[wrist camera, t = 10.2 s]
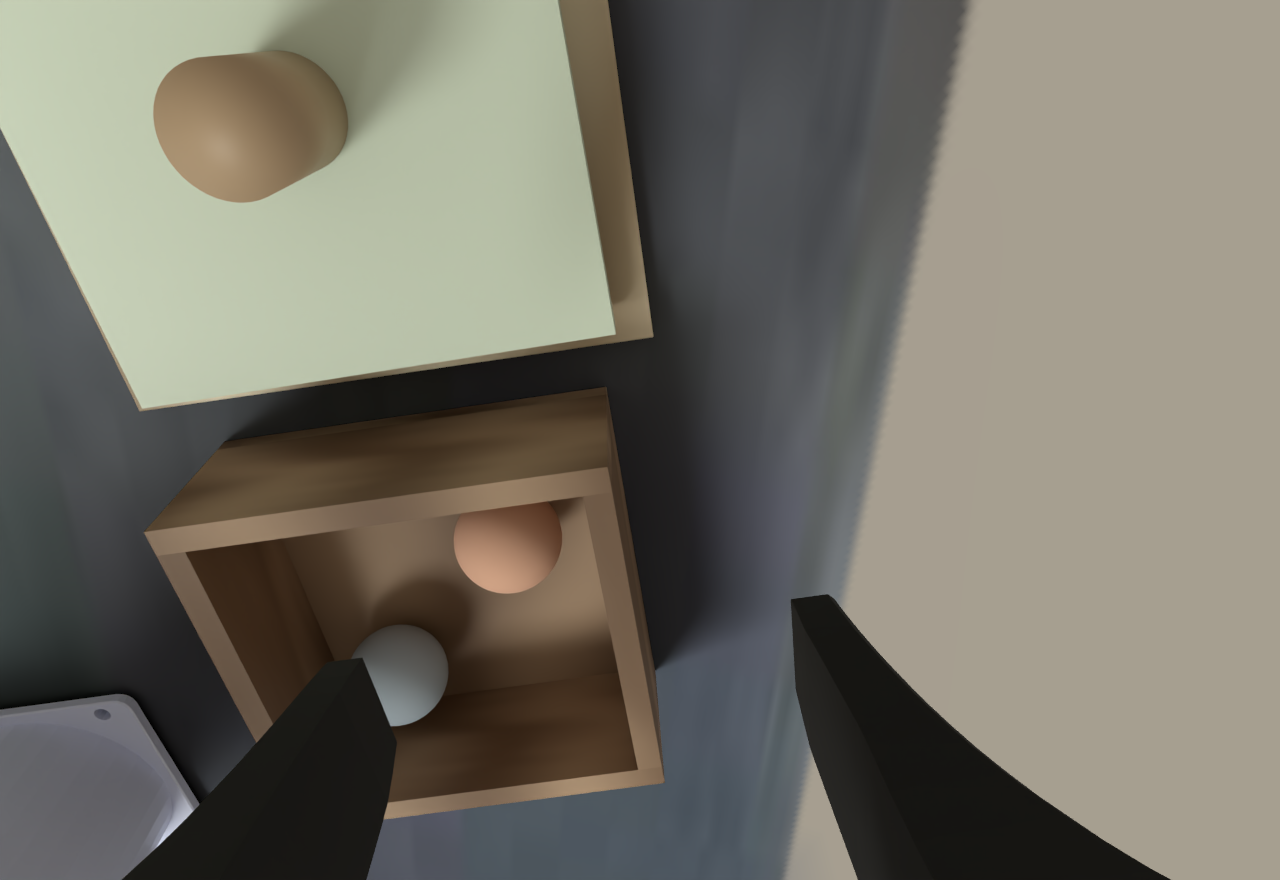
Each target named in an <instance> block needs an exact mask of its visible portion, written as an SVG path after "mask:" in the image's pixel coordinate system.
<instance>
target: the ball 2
mask: <svg viewBox="0 0 1280 880" xmlns="http://www.w3.org/2000/svg"><path fill="white" fill-rule="evenodd" d="M561 547H562V529H561V525H560V522H559V519H558V516H557V514H556V513H555V511H554V509H553V508H552V506H551V505H550V504H549V503H548V502H547V501H546V502H539V503H532V504H525V505H518V506H511V507H503V508H496V509H489V510H482V511H475V512H468V513H461V514H460V516H459V519H458V521H457V523H456V527H455V531H454V550H455V555H456V558H457V561H458V563H459V565H460V567H461V568H462V570H463V572H464V573H465V574H466V575H467V576H468V577H469V578H470V579H471V580H472V581H473V582H474V583H475V584H477V585H478V586H480V587H482V588H484V589H486V590H489V591H492V592H496V593H503V594H510V593H518V592H522V591H525V590H527V589H530V588H532V587H534V586H536V585H537V584H539V583H540V582H541V581H542V580H544V579H545V578H546V577H547V576H548V575H549V573H550V572H551V571H552V569H553V568H554V567H555V565H556V563H557V561H558V558H559V555H560V552H561Z"/></svg>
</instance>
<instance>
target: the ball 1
mask: <svg viewBox="0 0 1280 880" xmlns="http://www.w3.org/2000/svg"><path fill="white" fill-rule="evenodd" d="M355 658H363V660H364V662H365V665H366V667H367V670H368V672H369V675H370V677H371V680H372V682H373V684H374V687H375V689H376V692H377V694H378V697H379V699H380V702H381V704H382V706H383V709H384V711H385V714H386V716H387V719H388V721H389V723H390V726H402V725H406V724H410V723H412V722H415V721H417V720H419V719H421V718H422V717H424V716H425V715H427V714H428V713H429V712H430V711H431V710H432V709H433V708H434V707H435V706H436V705H437V703H438V702H439V700H440V699H441V697H442V695H443V693H444V691H445V688H446V685H447V681H448V673H449V672H448V661H447V657H446V654H445V652H444V650H443V648H442V646H441V644H440V643H439V642H438V641H437V639H436V638H435V637H434V636H433V635H431V634H430V633H429V632H427V631H425V630H423V629H421V628H419V627H416V626H412V625H392V626H388V627H384V628H382V629H379V630H377V631H376V632H374V633H372V634H371V635H369V636H368V637H367V638H366V639H365V640H364V641H363V642H362V643H361V644H360V645H359V646H358V647H357V649H356V650H355V652H354V654H353V656H352V658H351V659H355Z"/></svg>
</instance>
